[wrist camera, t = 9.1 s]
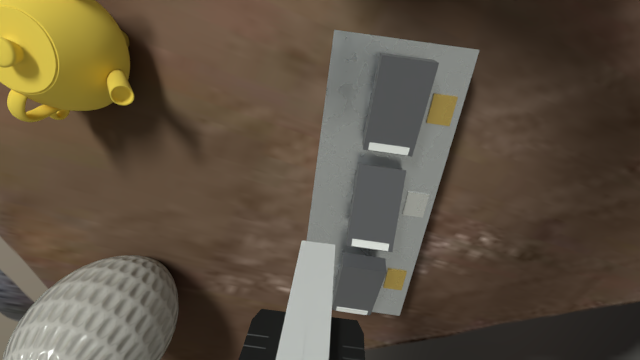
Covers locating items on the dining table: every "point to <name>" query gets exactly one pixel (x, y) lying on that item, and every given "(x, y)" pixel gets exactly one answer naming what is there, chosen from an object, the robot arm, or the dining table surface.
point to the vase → (101, 314)
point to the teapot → (62, 57)
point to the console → (346, 151)
